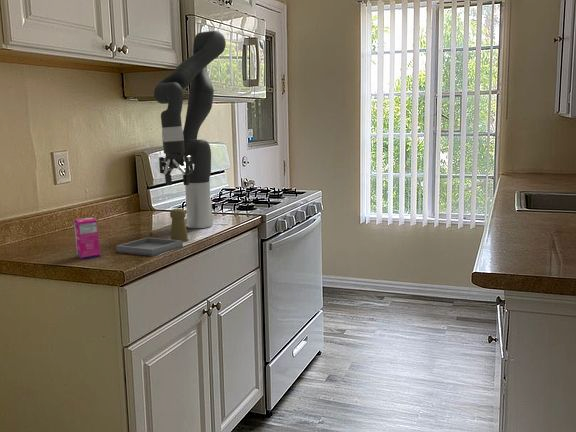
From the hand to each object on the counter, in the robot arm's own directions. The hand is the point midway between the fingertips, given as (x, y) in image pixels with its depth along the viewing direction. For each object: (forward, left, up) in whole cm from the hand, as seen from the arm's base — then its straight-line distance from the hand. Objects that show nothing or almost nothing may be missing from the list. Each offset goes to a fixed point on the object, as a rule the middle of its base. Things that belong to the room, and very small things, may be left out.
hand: (177, 185), depth 215 cm
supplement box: (+42, -2, -18) cm, 46 cm away
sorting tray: (+27, +9, -17) cm, 33 cm away
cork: (+12, +9, -18) cm, 23 cm away
